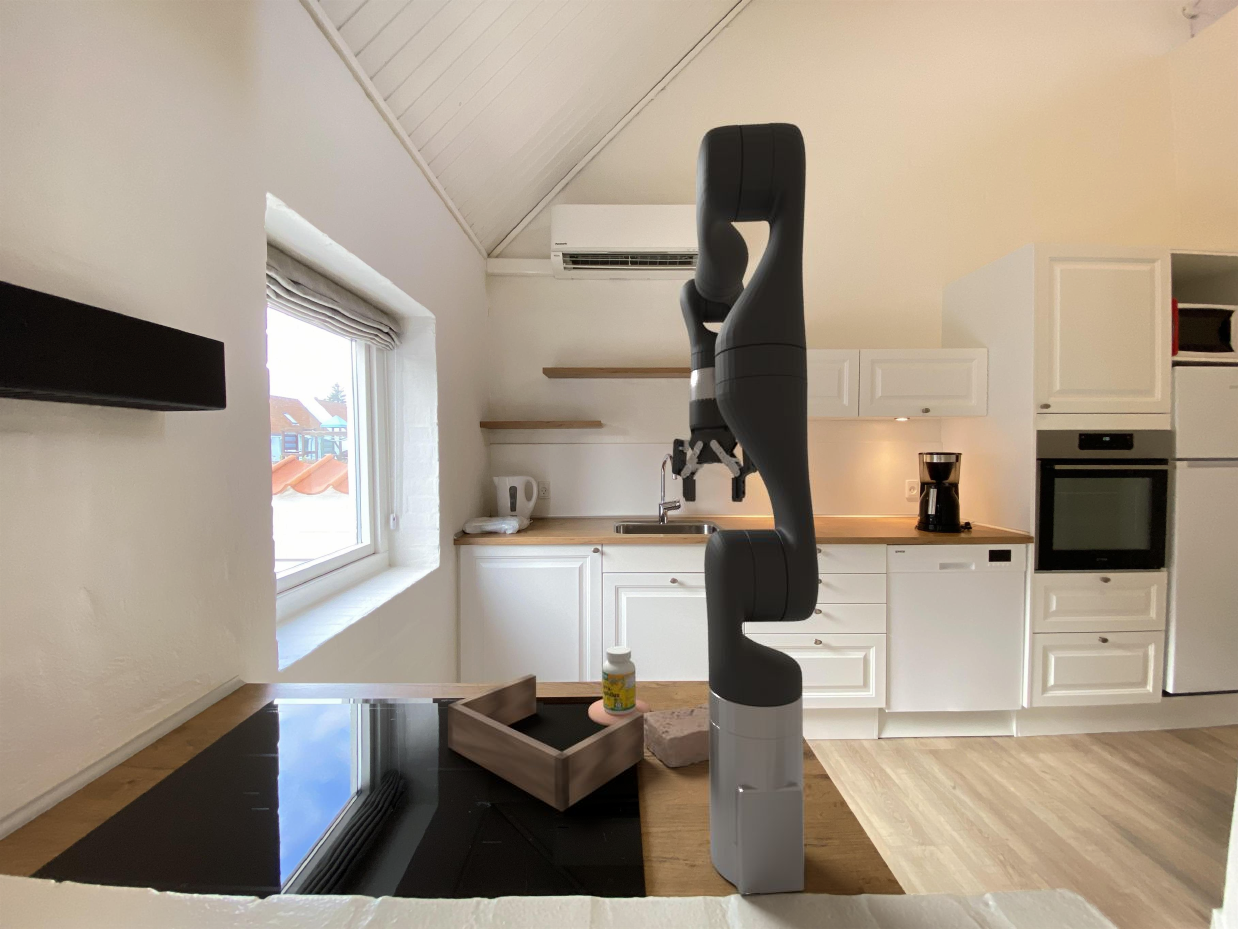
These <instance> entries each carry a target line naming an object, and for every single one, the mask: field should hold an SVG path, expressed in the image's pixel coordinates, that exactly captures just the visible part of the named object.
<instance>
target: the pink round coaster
mask: <svg viewBox="0 0 1238 929" xmlns="http://www.w3.org/2000/svg"><path fill="white" fill-rule="evenodd" d="M635 712H640V713H643V714H645V713H648V712H651V709H650V705H649V704H648V703H646V702H644V701H642V700H641V699H637V698H636V708H635V710H634V711H633V712H632V713H630V714H626V715H612V714H609V713H607V712H606V711H605V710H604V708H603V698H602V699H600V700H597V701H595V702H593V703H592V704H591V705H590V706H589V708H588V717H589V718H590V720H591V721H593V722H594V723H596V724H598V725H601V726H605V727H609V726H611V725H613V724H614V723H616V722H618V721H620V720H622V719H624V718H626V717H627V716H629V715H631V714H633V713H635Z"/></svg>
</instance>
